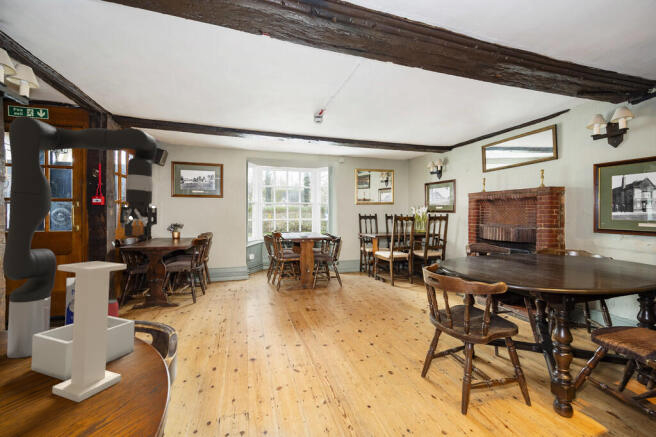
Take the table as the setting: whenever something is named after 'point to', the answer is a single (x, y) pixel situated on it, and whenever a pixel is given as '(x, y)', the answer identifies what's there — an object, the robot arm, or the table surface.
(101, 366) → the stand
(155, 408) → the table surface
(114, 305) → the beer can
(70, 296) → the milk carton
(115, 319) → the box
